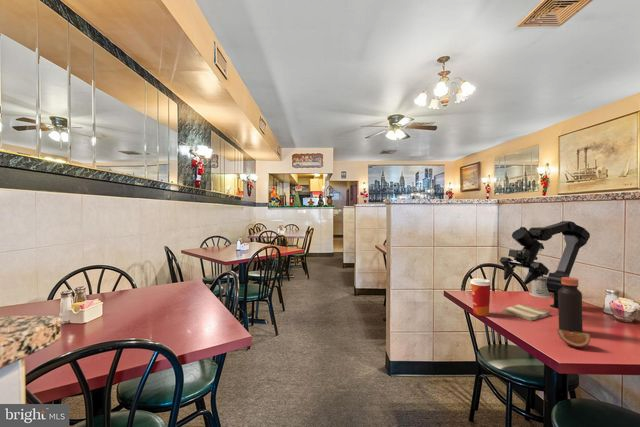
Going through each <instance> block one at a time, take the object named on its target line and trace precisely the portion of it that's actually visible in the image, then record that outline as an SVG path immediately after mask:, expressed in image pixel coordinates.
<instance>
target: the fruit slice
mask: <svg viewBox="0 0 640 427" xmlns="http://www.w3.org/2000/svg"><path fill="white" fill-rule="evenodd" d="M556 329H557V328H556ZM557 335H558V336H559V337H558V338H559V339H561V340H562V341H563V342H564V343H565V344H567V345H569V346H571V347H573V348H577V349H581V348H585V347H586V346H588V345H589V344H590V342H591V334H590V333H586V332H583V333H580V332H574V331H573V332H570V331H566V330H560V329H559V328H558V329H557Z"/></svg>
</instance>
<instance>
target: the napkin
mask: <svg viewBox="0 0 640 427" xmlns="http://www.w3.org/2000/svg"><path fill="white" fill-rule="evenodd" d="M501 313H504V314H506V315H509V316H513V317H517V318H520V319H523V320H525V321H529V322H530V321H531V322H532V321H536V320H539V319H543V318H546V317H549V316H550V315H551V311H548V310H545V309H540V308H536V307H534V306H533V307H532V306H530V305H525V304H522V303H519V304H516V305H511V306H508V307H505V308H501Z"/></svg>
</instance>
